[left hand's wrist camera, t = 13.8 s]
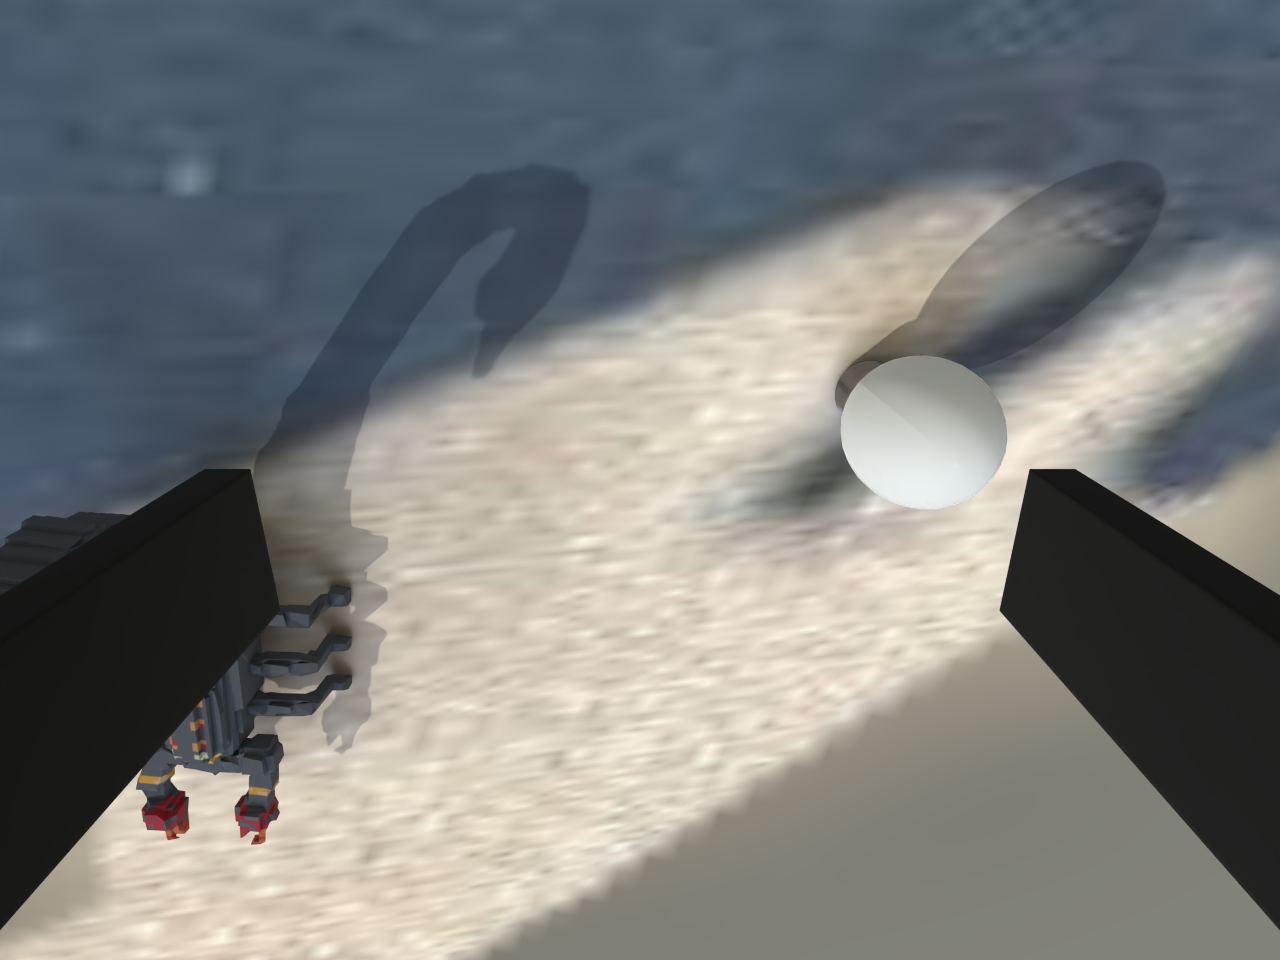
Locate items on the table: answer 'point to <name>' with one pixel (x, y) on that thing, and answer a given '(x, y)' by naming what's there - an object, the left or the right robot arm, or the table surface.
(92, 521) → the toy
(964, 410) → the light bulb
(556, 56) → the table surface
